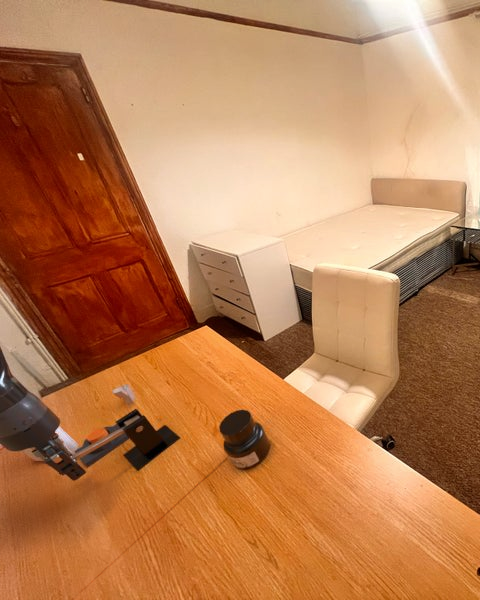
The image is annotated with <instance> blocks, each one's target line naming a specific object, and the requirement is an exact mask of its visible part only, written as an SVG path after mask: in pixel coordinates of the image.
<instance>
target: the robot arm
mask: <svg viewBox="0 0 480 600" xmlns="http://www.w3.org/2000/svg"><path fill="white" fill-rule="evenodd" d="M6 359H7V358H6V356H5V354H4V351H3V349H2V347H1V346H0V445H1V446H2V447H4V448H5V449H6V450H7V451H9V452H23V451H22V450H25V449H28V448H30V449H31V450H32V451H31V452H32V453H33V454H34V455H35V456H36V457H38V458H41V459H42V460H43V461H42V462H44V464H45V465H47V466H48V467H51V468H52V469H53V470H55V471H56V472H57V473H58V474H59V475H60V476H65V475H66V477H68V479H70V480H71V481H73V482H75V481H77V480H79V479H80V478H82V477H83V476H85V474H86V473H87V471H86V470H85V468H83V466H82V465H80V464H79V463H78V460H76V459H73V458H72V457H71V456H72V455H73V454H71V451H70V450H69V449H68V448H67V447H66V446H65V445H64V444H63V443H64V441H63V440H62V439H61V438H60V437H59V435H58V434H57V432H56V430H57V428H58V427H60V425H61V419H60V417H59V416H58V415H56V413H54V412H53V410H52V409H50V407H48V406H47V405H46V403H45V402H43V400H42V399H40V398H39V397H38V396H37V395H36V394H34V393H33V392H31V391H30V390H29V389H27V388H26V387H25V385H23V383H21V382H20V381H19V380H18V379H17V378H16V376H15V375H13V373H12V372H11V369H10V366H9V363H8V362H7V360H6Z"/></svg>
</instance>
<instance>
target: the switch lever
mask: <svg viewBox="0 0 480 600" xmlns="http://www.w3.org/2000/svg"><path fill="white" fill-rule="evenodd" d="M138 418H140V417H139V416H138V415H136V416H134V417H132V418H131V419H129V420H127V421H125V422H124V425H125V426H124V427H122V428H120V429H118V430H117V431H115V432H113V433H111V434H109V435H108V436H106V437H104V438H102V439H100V440H99V441H97V442H95V443H93V444H91V445H90V446H88V447H86V448H84V449H82V450H81V451H79V452H77V453H73V454H72V456H71V457H72V458H73V459H76V460H77V461H78V460H80V458H81V457H83V456H85V455H87V454H88V453H90V452H92V451H94V450H95V449H97V448H99V447H101V446H102V445H104V444H106V443H108V442H109V441H111V440H113V439H115V438H116V437H118V436H120V435H122V434H123V433H125V432H124V430H123V428H125V427H126V426H128V425H129V424H131V423H132V422H134V421H135V420H137V419H138Z"/></svg>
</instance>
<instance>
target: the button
mask: <svg viewBox="0 0 480 600" xmlns="http://www.w3.org/2000/svg"><path fill="white" fill-rule="evenodd" d="M108 435H109V433H108V432H107V431H106V430H105V429H104V427H99V428H96V429H94V430H93V431H91V432H90V433H89V434H88V435H87V437H86V439H87V440H88V441H89V442H90V443H91V444H93V443H95V442H97V441H99V440H100V439H102V438H104V437H106V436H108Z"/></svg>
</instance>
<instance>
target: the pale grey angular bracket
mask: <svg viewBox="0 0 480 600" xmlns="http://www.w3.org/2000/svg"><path fill="white" fill-rule="evenodd" d="M112 394H113V395H114V396H116V397H117V398H119V399H120V400H121V399H123V401H124V402H125V404H126V405H130V404H132V403H135V399H136V393H135V392H134V391H133V389H132V388H131V386H130V385H129V384H123V385H120V386H119V387H117V388H114V389H112Z"/></svg>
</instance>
